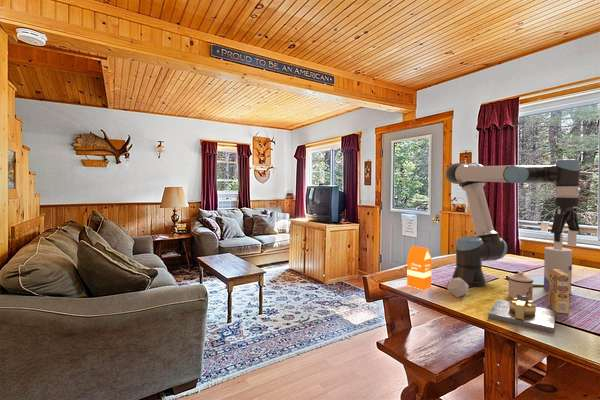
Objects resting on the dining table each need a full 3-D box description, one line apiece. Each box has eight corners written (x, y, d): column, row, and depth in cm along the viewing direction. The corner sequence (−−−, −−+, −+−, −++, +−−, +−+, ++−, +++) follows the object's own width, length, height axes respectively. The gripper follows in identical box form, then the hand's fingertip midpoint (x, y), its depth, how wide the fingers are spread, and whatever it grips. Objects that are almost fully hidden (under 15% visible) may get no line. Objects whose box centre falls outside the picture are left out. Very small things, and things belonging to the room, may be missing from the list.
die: (456, 292, 147) (444, 276, 147) (474, 287, 142) (461, 270, 142) (454, 303, 141) (441, 287, 141) (472, 298, 135) (459, 281, 135)
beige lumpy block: (511, 305, 123) (511, 293, 123) (536, 310, 118) (536, 297, 117) (506, 315, 113) (506, 302, 113) (533, 321, 108) (533, 307, 108)
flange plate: (488, 318, 116) (488, 297, 116) (497, 303, 131) (497, 284, 130) (553, 333, 104) (554, 310, 104) (555, 315, 118) (556, 294, 118)
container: (576, 294, 141) (577, 250, 140) (551, 293, 143) (552, 250, 142) (562, 287, 151) (563, 246, 150) (539, 286, 153) (540, 246, 152)
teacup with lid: (531, 303, 131) (532, 276, 130) (506, 298, 137) (506, 272, 136) (534, 296, 139) (535, 270, 139) (510, 291, 146) (511, 267, 145)
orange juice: (423, 290, 148) (424, 249, 147) (406, 286, 155) (406, 246, 154) (431, 287, 153) (431, 247, 152) (414, 283, 160) (414, 244, 159)
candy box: (569, 314, 119) (570, 275, 119) (556, 312, 121) (556, 274, 120) (559, 306, 128) (560, 269, 127) (547, 304, 129) (548, 268, 129)
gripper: (565, 198, 118) (563, 252, 119) (590, 196, 131) (588, 246, 132) (541, 197, 125) (540, 249, 126) (568, 195, 137) (566, 243, 138)
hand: (564, 247), depth 129 cm, fingers open, 13 cm apart
